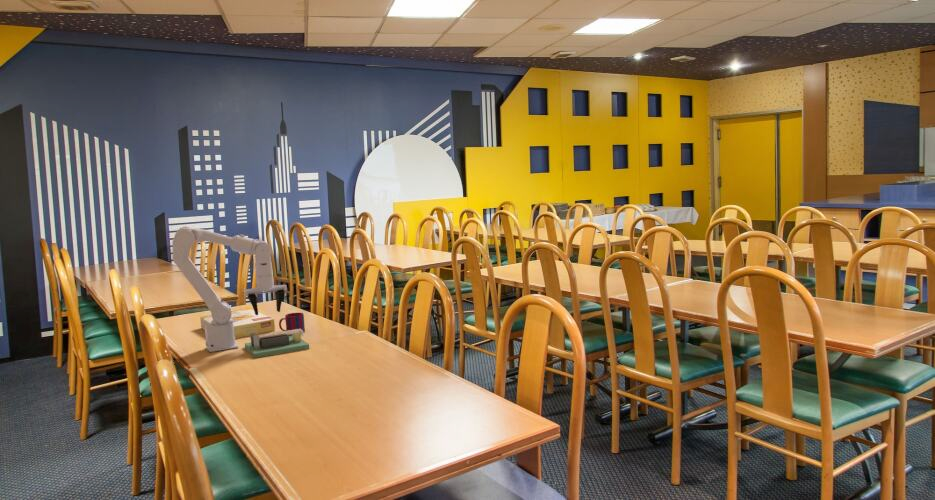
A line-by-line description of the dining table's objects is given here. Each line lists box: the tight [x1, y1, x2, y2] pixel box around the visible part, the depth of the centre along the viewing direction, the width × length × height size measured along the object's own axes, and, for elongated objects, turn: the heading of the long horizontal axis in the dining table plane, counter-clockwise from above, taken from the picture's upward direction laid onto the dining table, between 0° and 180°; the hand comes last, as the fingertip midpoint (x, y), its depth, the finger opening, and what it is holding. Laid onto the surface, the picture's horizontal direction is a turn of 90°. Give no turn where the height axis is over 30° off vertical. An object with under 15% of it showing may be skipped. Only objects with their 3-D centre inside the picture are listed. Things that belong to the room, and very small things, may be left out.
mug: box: [278, 312, 306, 333], centre depth 244 cm, size 7×10×7 cm
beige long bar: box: [254, 329, 304, 339], centre depth 223 cm, size 16×4×2 cm, turn 119°
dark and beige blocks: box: [249, 332, 302, 350], centre depth 223 cm, size 16×8×4 cm, turn 119°
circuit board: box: [244, 335, 310, 359], centre depth 223 cm, size 18×16×2 cm
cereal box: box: [200, 307, 276, 339], centre depth 254 cm, size 20×6×28 cm
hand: (267, 313), depth 231 cm, fingers open, 7 cm apart
